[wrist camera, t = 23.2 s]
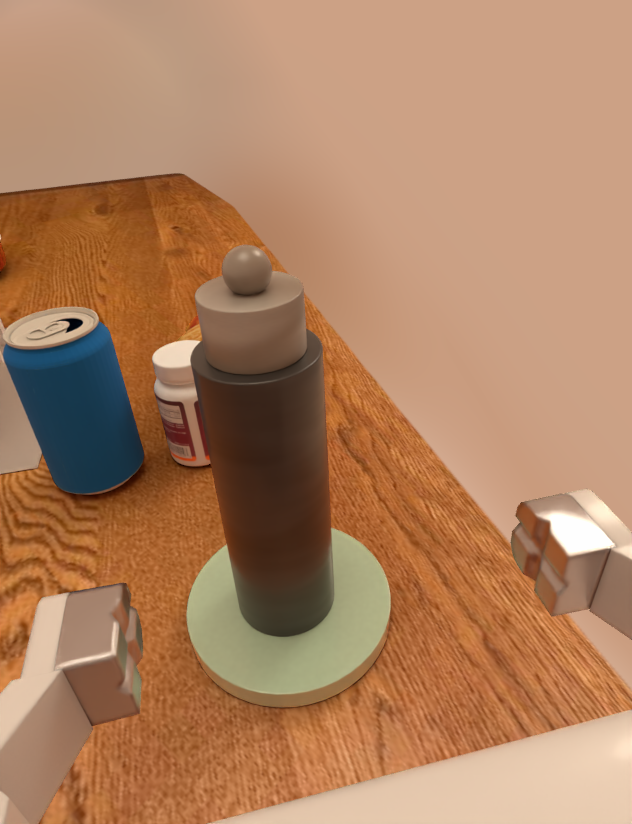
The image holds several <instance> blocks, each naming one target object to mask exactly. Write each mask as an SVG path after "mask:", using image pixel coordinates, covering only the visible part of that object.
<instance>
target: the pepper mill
mask: <svg viewBox="0 0 632 824" xmlns="http://www.w3.org/2000/svg"><path fill="white" fill-rule="evenodd" d="M195 302H196V307H197V313H198V318H199V324H200V329H201V335H202V341H201V342H199V343H198V344H197V345H196V347H195V348H194V349H193V351H192V354H191V358H190V362H191V367H192V372H193V377H194V382H195V387H196V392H197V397H198V402H199V407H200V412H201V417H202V422H203V427H204V432H205V437H206V442H207V447H208V452H209V458H210V463H211V468H212V473H213V478H214V483H215V488H216V493H217V498H218V503H219V508H220V513H221V518H222V523H223V528H224V533H225V538H226V543H227V548H228V553H229V558H230V563H231V568H232V573H233V578H234V583H235V588H236V593H237V598H238V603H239V608H240V611H241V614H242V615H243V617H244V619H245V620H246V621H247V623H249V624H250V625H251V626H252V627H253V628H255V629H256V630H258V631H260V632H262V633H264V634H267V635H271V636H277V637H289V636H295V635H299V634H302V633H304V632H307V631H309V630H311V629H313V628H314V627H315V626H317V625H318V624H319V623H320V622H321V621H323V619H324V618H325V617H326V616H327V614H328V613H329V611H330V609H331V607H332V605H333V601H334V575H333V554H332V533H331V513H330V492H329V471H328V450H327V430H326V409H325V388H324V367H323V347H322V343H321V341H320V339H319V338H318V337H317V336H316V335H315V334H314V333H313V332H311V331H310V330H308V329H306V319H305V304H304V288H303V284H302V283H301V281H300V280H299V279H298V278H296V277H295V276H292V275H290V274H287V273H282V272H277V271H272V267H271V263H270V260H269V258H268V257H267V255H266V254H265V253H264V252H263V251H262V250H260V249H259V248H257V247H255V246H251V245H241V246H237V247H235V248H233V249H232V250H231V251H229V253H228V254H227V255H226V256H225V258H224V261H223V263H222V276H220V277H217V278H215V279H212V280H210V281H208V282H206V283H205V284H203V285H202V286H200V287H199V288H198V290H197V291H196V293H195Z"/></svg>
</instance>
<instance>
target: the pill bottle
mask: <svg viewBox="0 0 632 824" xmlns="http://www.w3.org/2000/svg"><path fill="white" fill-rule="evenodd" d="M199 342H201V341H195V340H183V341H177V342H173V343H170V344H167V345H165V346H163V347H161V348H160V349H158V350H157V351H156V352H155V353H154V354H153V357H152V362H153V366H154V370H155V374H156V377H157V380H156V382H155V385H154V392H155V395H156V399H157V403H158V407H159V410H160V414H161V418H162V422H163V426H164V430H165V434H166V438H167V442H168V445H169V449H170V453H171V456H172V457H173V459H174V460H175V461H177V462H178V463H180V464H182V465H186V466H204V465H209V464H211V463H210V458H209V452H208V447H207V442H206V437H205V432H204V427H203V422H202V417H201V412H200V407H199V402H198V397H197V392H196V387H195V382H194V377H193V372H192V367H191V362H190V358H191V354H192V351H193V349H194V348H195V347H196V345H197V344H198V343H199Z"/></svg>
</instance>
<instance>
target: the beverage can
mask: <svg viewBox="0 0 632 824" xmlns="http://www.w3.org/2000/svg"><path fill="white" fill-rule="evenodd" d="M3 339H4V341H5V343H6V344H5V347H4V350H3V359H4V362H5V364H6V366H7V369H8V371H9V374H10V376H11V379H12V381H13V383H14V386H15V388H16V391H17V393H18V396H19V398H20V400H21V403H22V405H23V408H24V410H25V412H26V415H27V417H28V420H29V422H30V425H31V427H32V429H33V432H34V434H35V437H36V439H37V442H38V444H39V446H40V449H41V451H42V454H43V456H44V459H45V461H46V463H47V466H48V468H49V471H50V473H51V476H52V478H53V480H54V482H55V484H56V485H57V486H58V487H59V488H60V489H62V490H64V491H66V492H69V493H74V494H84V495H94V494H101V493H105V492H108V491H111V490H113V489H116V488H117V487H119V486H121V485H122V484H124V483H125V482H126V481H128V480H129V479H130V478H131V477H132V476H133V475H134V474H135V473H136V472H137V471H138V469H139V468H140V467H141V465H142V463H143V459H144V451H143V448H142V444H141V441H140V437H139V434H138V430H137V426H136V423H135V419H134V416H133V412H132V409H131V405H130V402H129V398H128V395H127V391H126V388H125V384H124V381H123V377H122V374H121V370H120V366H119V363H118V359H117V356H116V352H115V349H114V345H113V342H112V338H111V335H110V332H109V330H108V329H107V327H106V326H105V325H104V324H102V323H101V322H100V321H99V318H98V315H97V313H96V312H94V311H93V310H90V309H87V308H82V307H61V308H54V309H49V310H44V311H40V312H37V313H34V314H31V315H28V316H26V317H23V318H21V319H19V320H17V321H16V322H14V323H13V324H11V325H10V326H9V327H8V328H7V329H6V330H5V331H4V333H3Z"/></svg>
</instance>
